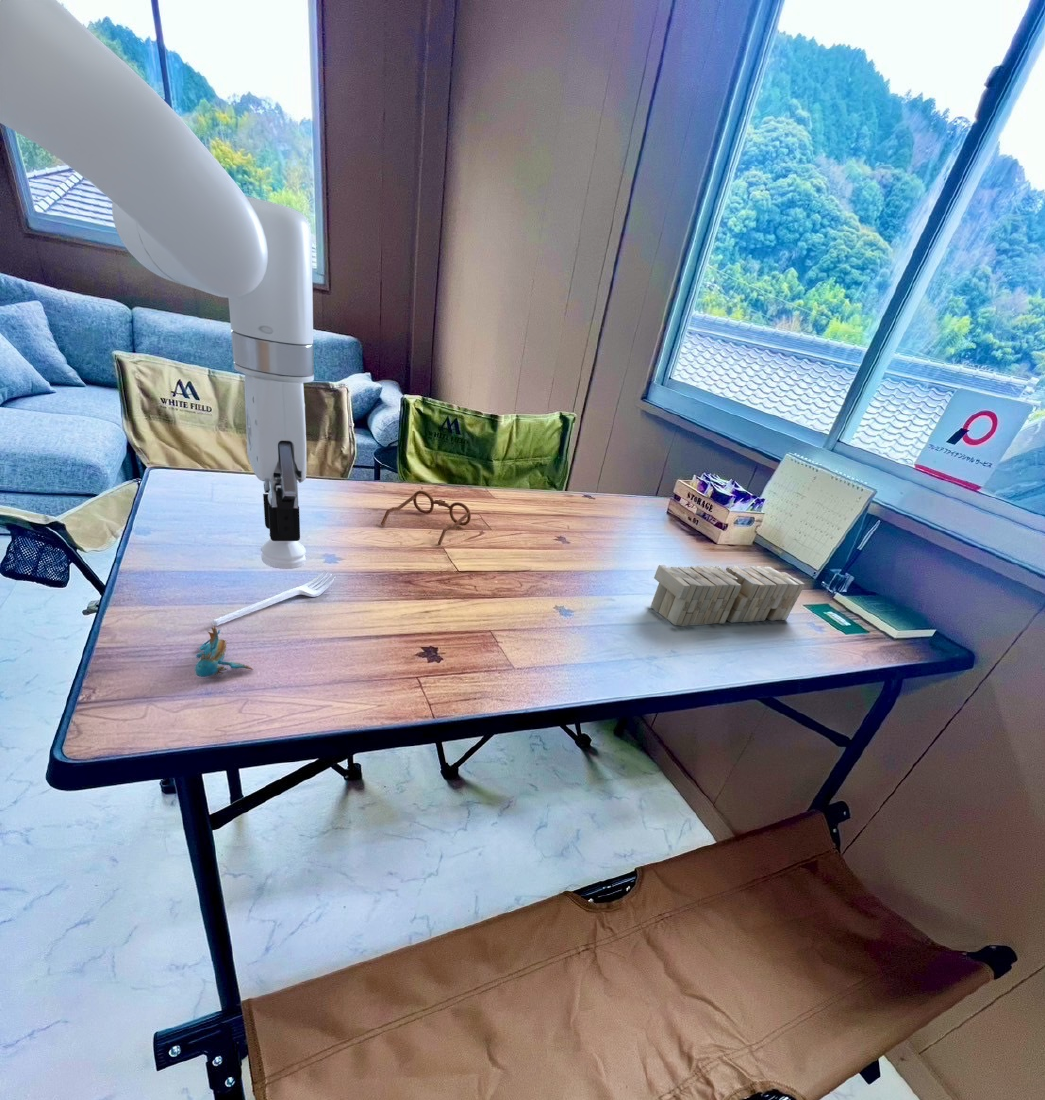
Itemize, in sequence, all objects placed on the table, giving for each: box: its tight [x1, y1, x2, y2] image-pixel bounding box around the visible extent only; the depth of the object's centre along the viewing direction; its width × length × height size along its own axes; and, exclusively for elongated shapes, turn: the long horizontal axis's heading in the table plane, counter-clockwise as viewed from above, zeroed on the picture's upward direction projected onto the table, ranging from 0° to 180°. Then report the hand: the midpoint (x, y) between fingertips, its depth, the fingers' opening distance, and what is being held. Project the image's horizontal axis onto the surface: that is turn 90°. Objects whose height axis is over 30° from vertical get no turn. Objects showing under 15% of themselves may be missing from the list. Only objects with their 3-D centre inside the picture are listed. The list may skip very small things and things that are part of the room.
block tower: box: [650, 564, 806, 627], centre depth 106 cm, size 8×8×29 cm
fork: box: [212, 569, 337, 627], centre depth 81 cm, size 3×20×2 cm, turn 150°
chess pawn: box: [260, 486, 307, 570], centre depth 69 cm, size 5×5×9 cm
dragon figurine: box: [194, 625, 254, 678], centre depth 67 cm, size 6×7×8 cm
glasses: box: [380, 490, 472, 546], centre depth 115 cm, size 13×13×5 cm
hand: (282, 532), depth 69 cm, fingers closed on chess pawn, 3 cm apart
